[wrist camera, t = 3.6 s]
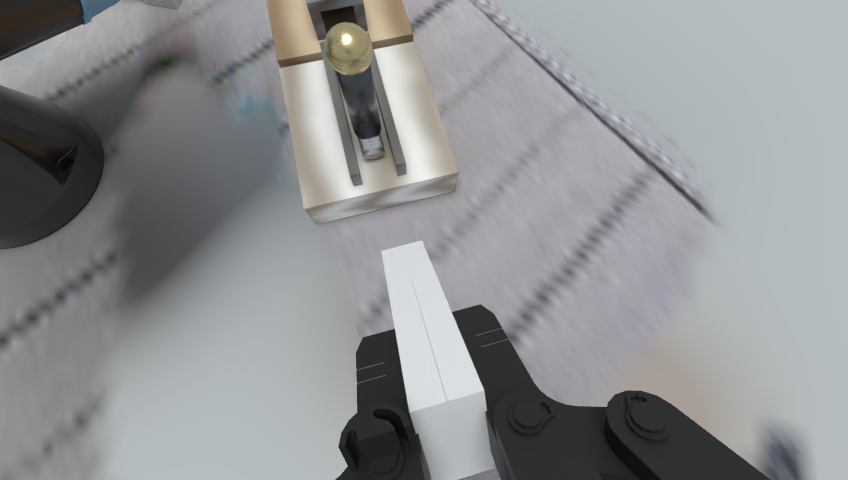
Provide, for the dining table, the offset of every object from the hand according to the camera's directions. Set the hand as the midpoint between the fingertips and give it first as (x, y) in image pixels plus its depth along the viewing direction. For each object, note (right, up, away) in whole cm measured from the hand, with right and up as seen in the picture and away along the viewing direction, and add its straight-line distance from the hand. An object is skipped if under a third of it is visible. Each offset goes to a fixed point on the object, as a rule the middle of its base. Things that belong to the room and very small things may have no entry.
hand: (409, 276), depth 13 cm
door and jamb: (-6, +16, +25) cm, 30 cm away
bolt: (-5, +14, +20) cm, 25 cm away
